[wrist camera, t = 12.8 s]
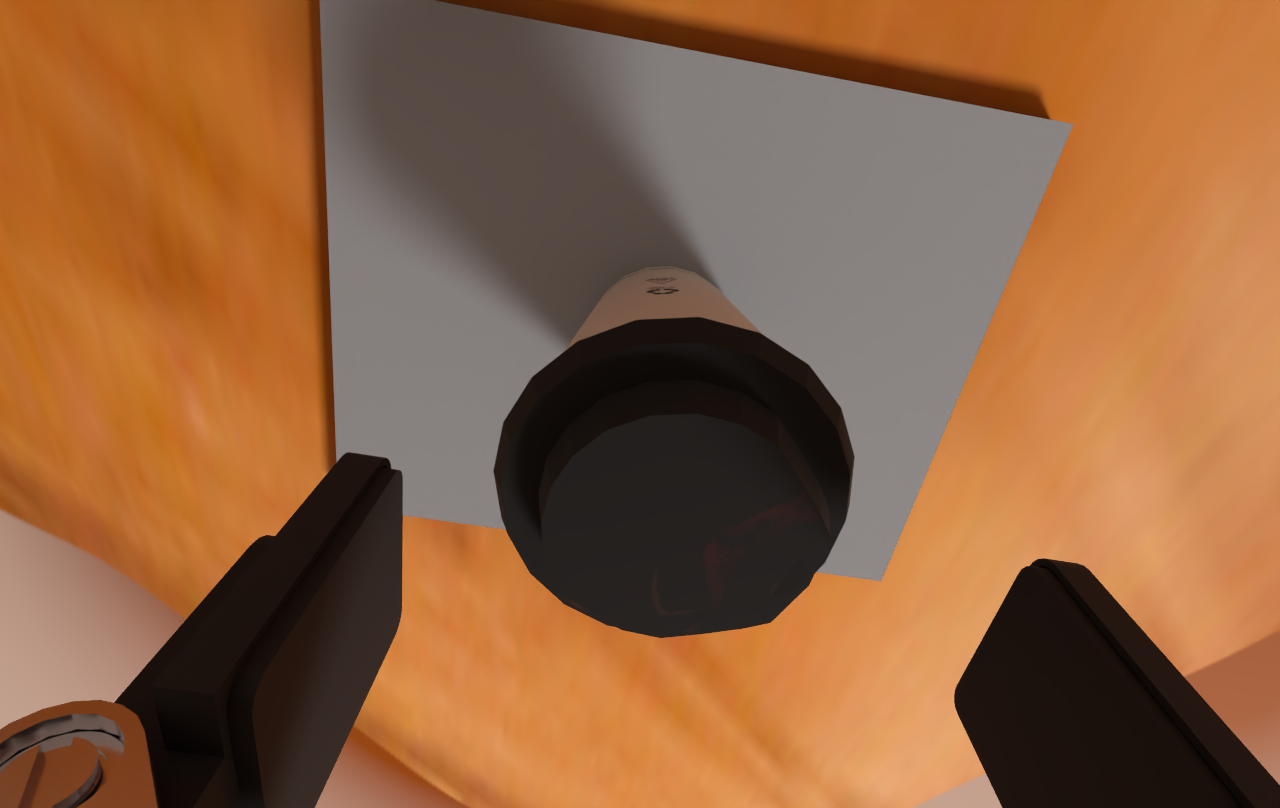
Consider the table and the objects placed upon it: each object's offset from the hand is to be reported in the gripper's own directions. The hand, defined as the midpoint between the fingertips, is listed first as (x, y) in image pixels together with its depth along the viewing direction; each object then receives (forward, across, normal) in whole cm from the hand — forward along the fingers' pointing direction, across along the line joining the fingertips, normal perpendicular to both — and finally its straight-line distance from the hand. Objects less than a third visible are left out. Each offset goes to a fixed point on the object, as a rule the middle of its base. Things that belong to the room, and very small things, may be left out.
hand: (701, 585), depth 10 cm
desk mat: (+12, +1, +1) cm, 13 cm away
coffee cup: (+12, 0, 0) cm, 12 cm away
